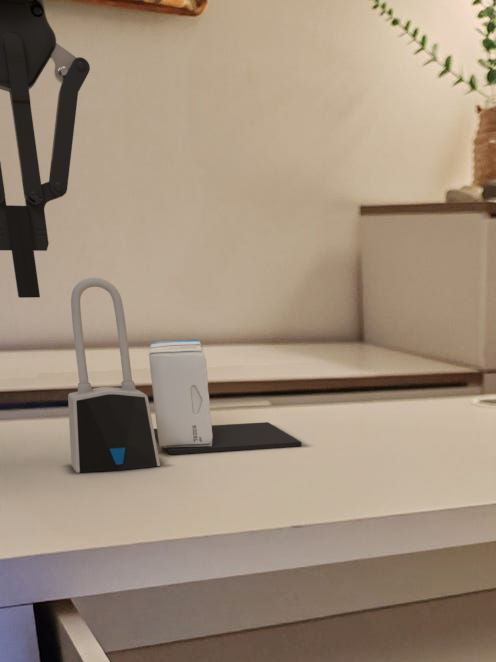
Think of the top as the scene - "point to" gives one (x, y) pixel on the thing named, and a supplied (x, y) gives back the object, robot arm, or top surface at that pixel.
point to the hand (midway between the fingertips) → (28, 296)
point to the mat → (240, 438)
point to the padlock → (108, 406)
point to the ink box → (180, 393)
